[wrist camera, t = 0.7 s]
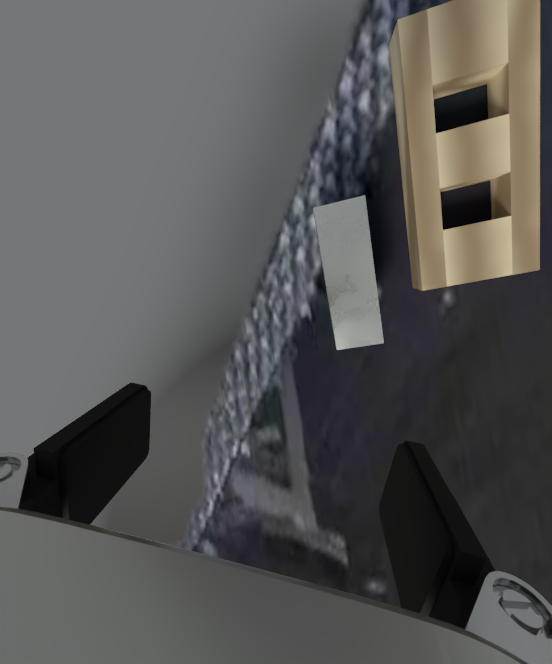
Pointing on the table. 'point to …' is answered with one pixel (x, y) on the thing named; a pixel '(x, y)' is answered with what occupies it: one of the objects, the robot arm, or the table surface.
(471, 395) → the table surface
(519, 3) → the birch rail
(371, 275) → the brushed steel block
